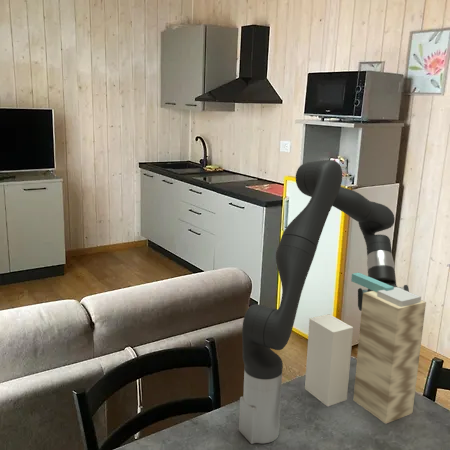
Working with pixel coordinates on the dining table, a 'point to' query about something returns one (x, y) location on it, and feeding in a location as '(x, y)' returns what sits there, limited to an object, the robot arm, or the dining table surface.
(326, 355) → the white block
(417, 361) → the tall wooden block
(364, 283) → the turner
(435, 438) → the dining table surface
